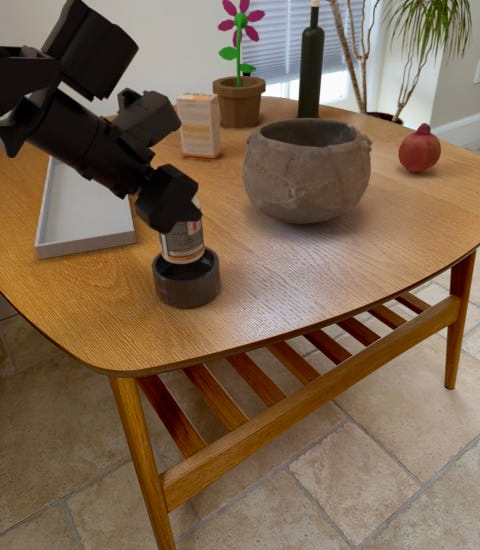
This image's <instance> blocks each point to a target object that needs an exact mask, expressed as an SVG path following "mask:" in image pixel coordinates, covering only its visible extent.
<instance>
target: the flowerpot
mask: <svg viewBox="0 0 480 550" xmlns="http://www.w3.org/2000/svg"><path fill="white" fill-rule="evenodd" d="M221 3H222V8H223V9H224V11H225V12H226V14H228V15H229V16H232V17H234V18H233V19H231V18H229V19H225V20H222V21H220V23H219V24H218V25H217V29H218V31H221V32H227V31H231V30H232V29H233V28H234V27H236V29H235V30H234V32H233V35H232V45H233V47H232V46H224V47H222V48H221V49H220V50H219V51H218V55H219V56H220V57H221V58H222V59H223V60H226V61H229V62H230V61H233V60H235V59H236V75H233V76H226V77H219V78H217V79H215V80H213V81H212V94H218V105H219V115H220V119H221V124H222V125H223V126H226V127H229V128H234V129H235V128H236V129H237V128H248V127H253V126H255V125H257V124H258V123H259V118H260V111H261V103H262V94H264V93H266V91H267V82H266V79H264V78H261V77H258V76H248V75H241V72H243V73H244V74H250V73H252V72H254V71H256V70H257V67H256V66H254V65H251V64H249V63H245V62H244V63H241V44H242V41H243V36H244V35H243V31H242V29H244V32H245V35H246V36H247V37H248V38H249V39H250V40H251V41H253V42H255V43H258V42H259V41H260V36H259V32H258V31H257V30H256V29H255V28H254V26H252V25H249V22H251V23H256V22H259V21H261V20H262V19H263V18H264V17H265V16H266V12H265V11H264V10H261V9H256V10H253V11H250V12H249V14H248V15H247V14H246V12H247V11H248V10H249V8H250V3H251V0H239V3H238V4H239V5H238V8H239V11H240V12H238V10H237V6H236V5H234V3H233V2H232V1H231V0H222V1H221Z"/></svg>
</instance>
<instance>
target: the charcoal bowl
mask: <svg viewBox="0 0 480 550" xmlns="http://www.w3.org/2000/svg"><path fill="white" fill-rule="evenodd" d="M150 266H151V272H152V277H153V281H154V282H153V284H154V288H155V289H154V290H155V293H156V294H155V295H156V296H157V298H158V299H159V301H161V302H162V303H163V304H165V305H168V306H170V307H175V308H179V309H180V308H181V309H183V308H184V309H185V308H195V307H198V306H202V305H204V304H206V303H209V302H210V301H212V300H213V299H214V298H216V297H217V295H218V294H219V292H220V290H221V281H222V280H221V268H220V267H221V265H220V258H219V256H218V253H217V252H215V251H214V250H213V249H212V248H210V247H207V246H206V245H204V253H203V255H202V256H201V257H200V258H199V259H198V260H196V261H194V262H191V263H187V264H175V263H171V262H169V261H167V260H166V259H164V257H163V256H162V253H161V251H160V252H159V253H158V254H157V255H155V257H154V258H153V260H152V263H151V265H150Z"/></svg>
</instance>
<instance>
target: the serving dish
mask: <svg viewBox="0 0 480 550" xmlns="http://www.w3.org/2000/svg"><path fill="white" fill-rule="evenodd" d="M129 198H130V197H129V195H128V194H127V195H126V197H125V198H124V200H122V199H120V198H118V197H117V196H115V195H114V194H113V193H112V192H111V191H110V189H108V188H106V187H104V186H103V185H101V184H99V183H97V182H96V181H94V180H91V181H89V180H87V179H85V178H83V177H82V176H81V175H80V174H79V173H78V172H77V171H76V170H75V169H73V168H71V167H69V166H68V165H66V164H64V163H63V162H61V161H59V160H57V159H56V158H54V157H52V156H50V155H49V158H48V164H47V170H46V176H45V182H44V187H43V192H42V198H41V205H40V210H39V217H38V221H37V228H36V233H35V237H34V238H35V240H34V245H33V248H34V251H35V254H36V256H37V259H38V260H45V259H50V258H51V259H52V258H56V257H61V256H67V255H74V254H79V253H86V252H91V251H98V250H104V249H108V248H109V249H110V248H115V247H122V246H127V245H132V244H137V237H136V231H135V227H134V220H133V214H132V209H131V204H130V199H129Z"/></svg>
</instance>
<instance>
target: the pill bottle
mask: <svg viewBox="0 0 480 550" xmlns="http://www.w3.org/2000/svg"><path fill="white" fill-rule="evenodd" d="M191 201H192V202H193V203H194V204H195V205H196V207H197V208H198V209H199V210H200V211H201V212H202V207H201V203H200V202H201V201H200V200H199V199H198V198H197V197H196V195H195V196H194V197H193V199H192V200H191ZM202 218H203V217H201V219H200V220H199V221H198V222H176V224H175V225H174V227H173V228H172V230H171V231H170V233H168V234H165V235H163V234H161V233H159V232H157V234H158V240H159V246H160V252H161V253H162V256H163V257H164V259H166V260H167V261H169V262H171V263H175V264H187V263H191V262H194V261H196V260H198V259H199V258H200V257H201V256H202V255H203V253H204V246H205V238H204V228H203V219H202Z"/></svg>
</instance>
